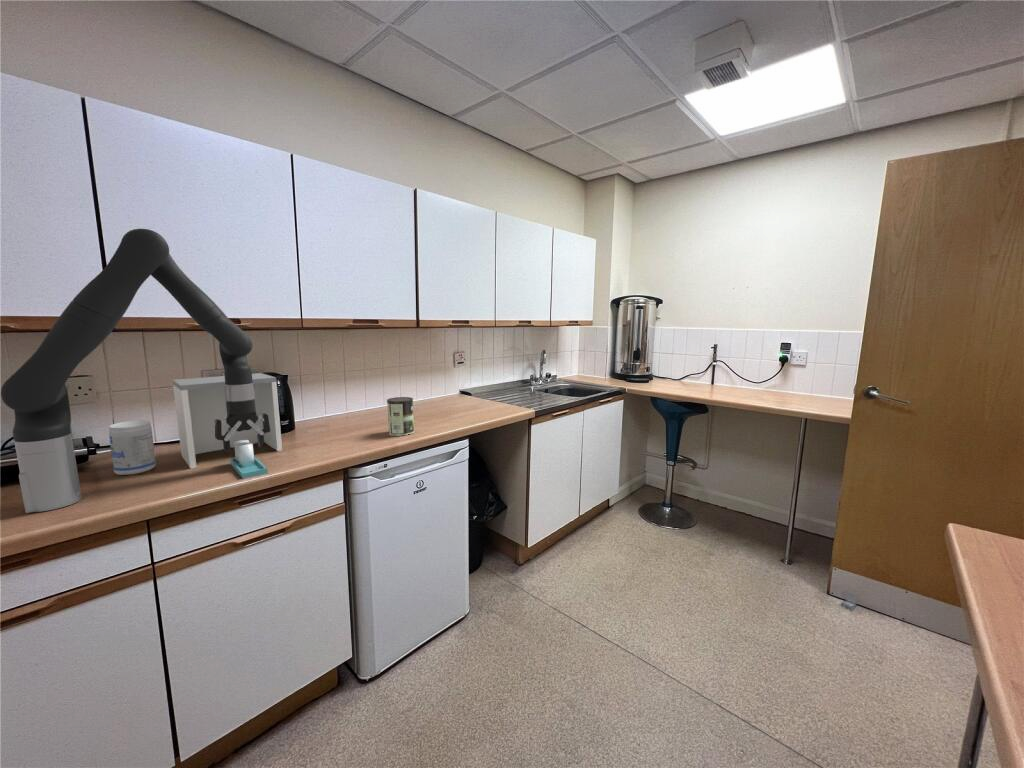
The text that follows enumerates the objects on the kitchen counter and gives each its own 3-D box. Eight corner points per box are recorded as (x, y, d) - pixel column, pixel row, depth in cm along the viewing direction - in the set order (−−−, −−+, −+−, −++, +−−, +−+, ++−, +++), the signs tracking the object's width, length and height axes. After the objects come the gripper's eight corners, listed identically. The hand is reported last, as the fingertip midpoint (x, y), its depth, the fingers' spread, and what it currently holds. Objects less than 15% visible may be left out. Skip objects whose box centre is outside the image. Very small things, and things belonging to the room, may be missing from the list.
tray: (267, 474, 124) (265, 450, 123) (242, 479, 120) (240, 454, 119) (253, 460, 137) (251, 438, 136) (230, 464, 133) (228, 442, 131)
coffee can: (412, 428, 176) (411, 396, 174) (416, 434, 167) (414, 400, 165) (387, 431, 172) (385, 397, 170) (389, 437, 163) (388, 402, 161)
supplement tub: (105, 475, 123) (98, 426, 121) (138, 464, 132) (131, 419, 130) (133, 476, 121) (127, 428, 119) (164, 465, 131) (158, 420, 129)
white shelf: (190, 468, 128) (180, 385, 124) (181, 455, 141) (172, 379, 137) (282, 450, 146) (276, 377, 143) (267, 440, 159) (261, 373, 155)
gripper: (215, 402, 120) (220, 456, 122) (270, 396, 130) (273, 447, 132) (209, 399, 125) (214, 451, 127) (263, 394, 135) (266, 442, 137)
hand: (244, 449), depth 129 cm, fingers open, 8 cm apart
